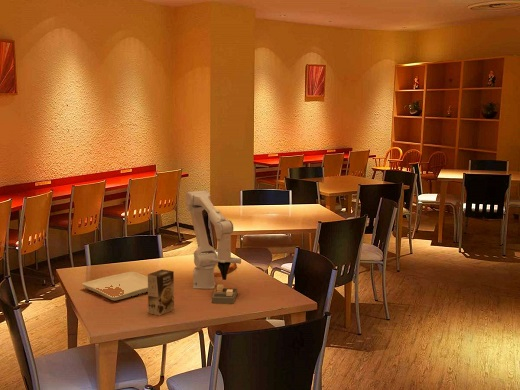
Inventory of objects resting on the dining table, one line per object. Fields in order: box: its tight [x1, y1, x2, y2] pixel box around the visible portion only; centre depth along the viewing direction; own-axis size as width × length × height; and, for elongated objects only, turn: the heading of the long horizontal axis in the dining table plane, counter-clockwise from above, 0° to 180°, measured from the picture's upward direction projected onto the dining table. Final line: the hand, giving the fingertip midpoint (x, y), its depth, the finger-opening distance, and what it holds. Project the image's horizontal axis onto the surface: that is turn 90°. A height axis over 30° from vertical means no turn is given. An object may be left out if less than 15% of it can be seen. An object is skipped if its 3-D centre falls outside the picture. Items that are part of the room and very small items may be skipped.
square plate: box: [81, 271, 148, 301], centre depth 266 cm, size 27×27×4 cm
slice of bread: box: [214, 263, 238, 278], centre depth 296 cm, size 18×18×4 cm
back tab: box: [216, 283, 225, 291], centre depth 257 cm, size 2×3×2 cm
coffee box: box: [147, 269, 175, 317], centre depth 238 cm, size 9×6×16 cm
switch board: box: [211, 287, 238, 305], centre depth 254 cm, size 9×13×3 cm
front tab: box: [226, 289, 233, 296], centre depth 250 cm, size 2×3×2 cm
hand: (224, 279), depth 257 cm, fingers closed
